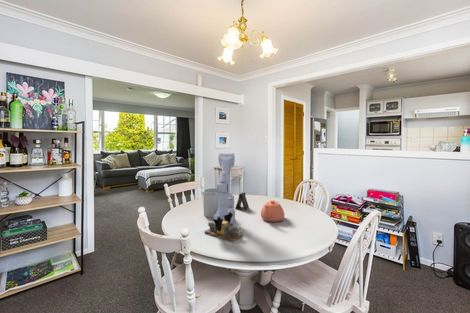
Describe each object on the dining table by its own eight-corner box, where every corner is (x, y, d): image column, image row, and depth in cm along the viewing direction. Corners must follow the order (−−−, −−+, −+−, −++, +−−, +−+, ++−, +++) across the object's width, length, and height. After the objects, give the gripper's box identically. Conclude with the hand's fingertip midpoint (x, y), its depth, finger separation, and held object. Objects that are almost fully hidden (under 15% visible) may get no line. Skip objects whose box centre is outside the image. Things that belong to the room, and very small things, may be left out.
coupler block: (228, 232, 129) (228, 221, 129) (224, 234, 126) (224, 224, 125) (221, 230, 132) (221, 220, 131) (216, 232, 128) (216, 222, 128)
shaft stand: (204, 233, 131) (204, 222, 130) (214, 228, 138) (214, 218, 138) (233, 242, 119) (233, 231, 119) (242, 236, 126) (242, 225, 126)
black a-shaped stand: (235, 208, 176) (235, 193, 175) (238, 206, 181) (238, 191, 180) (246, 210, 172) (246, 194, 171) (249, 208, 177) (249, 192, 176)
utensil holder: (214, 219, 153) (214, 193, 151) (198, 215, 162) (198, 190, 160) (228, 213, 164) (228, 189, 163) (212, 209, 173) (212, 186, 172)
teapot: (276, 227, 140) (277, 207, 139) (253, 222, 148) (254, 203, 147) (288, 216, 158) (289, 198, 157) (267, 212, 167) (267, 195, 166)
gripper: (224, 200, 135) (225, 222, 137) (209, 206, 123) (209, 231, 125) (235, 202, 132) (234, 225, 133) (219, 208, 120) (219, 234, 121)
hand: (223, 228), depth 128 cm, fingers open, 7 cm apart
